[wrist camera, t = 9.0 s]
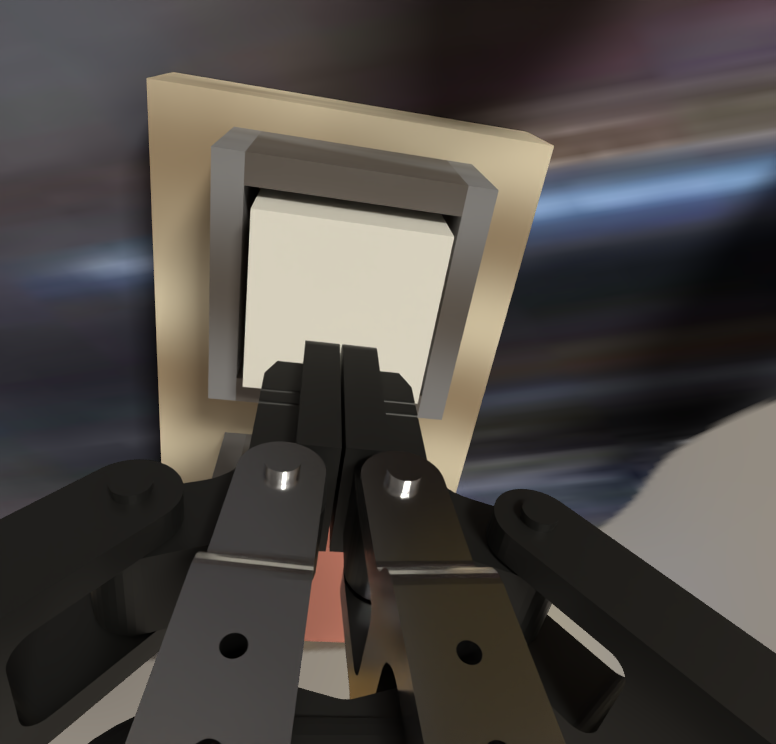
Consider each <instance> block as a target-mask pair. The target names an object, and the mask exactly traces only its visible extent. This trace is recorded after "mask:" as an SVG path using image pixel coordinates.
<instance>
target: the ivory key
mask: <svg viewBox="0 0 776 744" xmlns="http://www.w3.org/2000/svg"><path fill="white" fill-rule="evenodd" d="M453 240H454V236H453V234H452V232H451V230H450V229H449V227H448V225H447V223H446V221H445V220H444V218H443V216H442V214H439V213H432V212H425V211H418V210H411V209H404V208H398V207H391V206H384V205H377V204H370V203H363V202H356V201H349V200H342V199H335V198H328V197H322V196H315V195H308V194H301V193H294V192H287V191H280V190H273V189H266V188H261V189H260V191H259V193H258V195H257V197H256V199H255V201H254V203H253V205H252V207H251V212H250V234H249V256H248V279H247V301H246V324H245V346H244V368H243V387H250V388H261V387H262V382H263V377H264V373H265V372H266V371H267V370H268V369H269V368H270V367H271V366H272V365H273V364H274V363H275V362H277V361H285V362H294V363H303V358H304V348H305V340H308V341H317V342H326V343H336V344H340V353H341V347H342V344H346V345H355V346H364V347H374V348H377V352H378V360H379V367H380V371H384V372H393V373H399V374H400V375H401V376H402V377H403V378H404V379H405V380H406V381H407V383H408V384H409V385H410V386H411V387H412V392H413V396H414V401H415V403H416V404H418V399H419V395H420V390H421V386H422V381H423V377H424V372H425V368H426V363H427V358H428V354H429V349H430V345H431V340H432V336H433V331H434V327H435V322H436V318H437V313H438V309H439V304H440V299H441V295H442V290H443V286H444V281H445V277H446V272H447V268H448V263H449V259H450V254H451V249H452V245H453Z"/></svg>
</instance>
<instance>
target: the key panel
mask: <svg viewBox="0 0 776 744" xmlns="http://www.w3.org/2000/svg"><path fill="white" fill-rule="evenodd" d="M147 99H148V125H149V152H150V178H151V204H152V230H153V257H154V283H155V309H156V336H157V362H158V388H159V414H160V441H161V463H163V464H166V465H168V466H169V467H171V468H173V469H174V470H175V471H176V472H177V473H178V474H179V475H180V476H181V479H182V481H183V483H188V482H195V481H201V480H207V479H212V478H215V477H218V476H221V475H224V474H226V473H228V472H230V471H232V470H233V469H235V468H236V466H237V463H238V461H239V459H240V457H241V456H242V455H243V454H244V453H245V452H246V451H248V450H249V446H250V441H251V436H252V431H253V427H254V422H255V417H256V412H257V407H258V403H259V397H260V392H261V388H250V387H243V368H244V346H245V324H246V301H247V279H248V256H249V234H250V212H251V207H252V205H253V203H254V201H255V199H256V197H257V195H258V193H259V191H260V189H261V188H266V189H273V190H280V191H287V192H294V193H301V194H308V195H315V196H322V197H328V198H335V199H342V200H349V201H356V202H363V203H370V204H377V205H384V206H391V207H398V208H404V209H411V210H418V211H425V212H432V213H439V214H442V216H443V218H444V220H445V221H446V223H447V225H448V227H449V229H450V230H451V232H452V234H453V236H454V240H453V245H452V249H451V254H450V259H449V263H448V268H447V272H446V277H445V281H444V286H443V290H442V295H441V299H440V304H439V309H438V313H437V318H436V322H435V327H434V331H433V336H432V340H431V345H430V349H429V354H428V358H427V363H426V368H425V372H424V377H423V381H422V386H421V390H420V395H419V399H418V404H416V403H415V405H416V410H417V418H418V419H419V424H420V429H421V433H422V438H423V443H424V447H425V452H426V456H427V460H428V461H429V462H431V463H432V464H433V465H435V466H436V467H437V468H438V469H439V471H440V472H441V474H442V476H443V478H444V480H445V483H446V486H447V488H448V489H449V490H451V491H453V492H455V493H456V490H457V486H458V483H459V479H460V476H461V472H462V469H463V465H464V462H465V458H466V455H467V451H468V448H469V444H470V441H471V437H472V434H473V430H474V426H475V423H476V419H477V416H478V412H479V409H480V405H481V402H482V398H483V395H484V391H485V388H486V384H487V381H488V377H489V374H490V370H491V367H492V363H493V359H494V356H495V352H496V349H497V345H498V342H499V338H500V335H501V331H502V328H503V324H504V321H505V317H506V314H507V310H508V307H509V303H510V299H511V296H512V292H513V289H514V285H515V282H516V278H517V275H518V271H519V268H520V264H521V261H522V257H523V254H524V250H525V247H526V243H527V240H528V236H529V232H530V229H531V225H532V222H533V218H534V215H535V211H536V208H537V204H538V201H539V197H540V194H541V190H542V187H543V183H544V180H545V176H546V172H547V169H548V165H549V162H550V158H551V155H552V151H553V148H554V146H553V145H551V144H549V143H547V142H545V141H544V140H542V139H540V138H538V137H536V136H534V135H532V134H530V133H528V132H525V131H519V130H513V129H507V128H501V127H495V126H489V125H483V124H477V123H471V122H465V121H459V120H454V119H448V118H442V117H436V116H430V115H424V114H418V113H412V112H406V111H400V110H394V109H388V108H382V107H377V106H371V105H365V104H359V103H353V102H347V101H341V100H335V99H329V98H323V97H317V96H311V95H305V94H300V93H294V92H288V91H282V90H276V89H270V88H264V87H258V86H252V85H246V84H240V83H234V82H228V81H223V80H217V79H211V78H205V77H199V76H193V75H187V74H181V73H175V72H172V73H167V74H163V75H159V76H154V77H150V78H147Z"/></svg>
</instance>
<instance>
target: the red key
mask: <svg viewBox="0 0 776 744" xmlns="http://www.w3.org/2000/svg"><path fill="white" fill-rule="evenodd" d="M329 544H330V527H329V533H328V540H327V546H326V552H325V551H319V553H318V560H317V566H316V573H315V576H314V579H313V580H312V585H311V593H310V600H309V608H308V615H307V623H306V630H305V638H304V641H320V642H345V639H344V629H343V619H342V609H341V599H340V584H341V579H342V573H343V568H344V559H343V552H329Z"/></svg>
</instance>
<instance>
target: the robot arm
mask: <svg viewBox="0 0 776 744" xmlns="http://www.w3.org/2000/svg"><path fill="white" fill-rule="evenodd" d="M329 527H330V544H329V552H343V559H344V568H343V573H342V579H341V584H340V599H341V609H342V619H343V629H344V639H345V649H346V659H347V668H348V678H349V691H350V699H348V700H346V699H338V698H334V697H330V696H327V695H323V694H319V693H316V692H313V691H309V690H305V689H302V688H298V683H299V676H300V668H301V660H302V653H303V645H304V638H305V630H306V623H307V615H308V608H309V600H310V593H311V585H312V580H313V579H314V576H315V573H316V566H317V560H318V553H319V551H325V552H326V546H327V540H328V533H329ZM551 604H553V605H555V606H556V607H557V608H559V609H560V610H561V611H562V612H563V613H564V614H565V615H567V616H568V617H569V618H570V619H571V620H573V621H574V622H575V623H576V624H577V625H579V626H580V627H581V628H582V629H583V630H585V631H586V632H587V633H588V634H590V635H591V636H592V637H593V638H594V639H595V640H597V641H598V642H599V643H600V644H601V645H603V646H604V647H605V648H606V649H607V650H609V651H610V652H611V653H612V654H613V655H614V656H615V657H616V659H617V660H618V661H619V663H620V665H621V666H622V668H623V671H624V674H625V677H623V676H621V675H618V674H617V673H615V672H614V671H613V670H611V669H610V668H609V667H608V666H607V665H606V664H605V663H603V662H602V661H601V660H600V659H599V658H598V657H596V656H595V655H594V654H593V653H592V652H590V651H589V650H588V649H587V648H586V647H585V646H583V645H582V644H581V643H580V642H579V641H577V640H576V639H575V638H574V637H573V636H572V635H570V634H569V633H568V632H567V631H566V630H565V629H563V628H562V627H561V626H560V625H559V624H558V623H556V622H555V621H554V620H553V619H552V618H551V617H549V616H548V615H547V613H548V611H549V609H550V607H551ZM158 651H159V652H158ZM157 652H158V655H157V658H156V661H155V663H154V666H153V669H152V672H151V674H150V677H149V680H148V683H147V685H146V688H145V691H144V694H143V696H142V699H141V702H140V704H139V707H138V710H137V713H136V716H135V717H133V718H131V719H129V720H126V721H124V722H122V723H120V724H118V725H116V726H114V727H113V728H111V729H110V730H108V731H106V732H105V733H103V734H102V735H100V736H98V737H97V738H95V739H93V740H92V741H91V742H89V743H88V744H776V653H774V652H773V651H771V650H770V649H769V648H767V647H766V646H764V645H763V644H762V643H760V642H759V641H757V640H756V639H754V638H753V637H752V636H750V635H749V634H747V633H746V632H745V631H743V630H742V629H740V628H739V627H737V626H736V625H735V624H733V623H732V622H730V621H729V620H727V619H726V618H725V617H723V616H722V615H720V614H719V613H717V612H716V611H715V610H713V609H712V608H710V607H709V606H708V605H706V604H705V603H703V602H702V601H700V600H699V599H698V598H696V597H695V596H693V595H692V594H691V593H689V592H688V591H686V590H685V589H683V588H682V587H680V586H679V585H678V584H676V583H675V582H673V581H672V580H671V579H669V578H668V577H666V576H665V575H663V574H662V573H661V572H659V571H658V570H656V569H655V568H654V567H652V566H651V565H649V564H648V563H646V562H645V561H644V560H642V559H641V558H639V557H638V556H637V555H635V554H634V553H632V552H631V551H629V550H628V549H627V548H625V547H624V546H622V545H621V544H619V543H618V542H617V541H615V540H614V539H612V538H611V537H610V536H608V535H607V534H605V533H604V532H602V531H601V530H600V529H598V528H597V527H595V526H594V525H592V524H591V523H590V522H588V521H587V520H585V519H584V518H583V517H581V516H580V515H578V514H577V513H575V512H574V511H573V510H571V509H570V508H568V507H567V506H565V505H564V504H563V503H561V502H560V501H558V500H556V499H555V498H553V497H551V496H549V495H547V494H544V493H541V492H538V491H534V490H528V489H515V490H510V491H507V492H505V493H503V494H502V495H500V496H499V497H498V498H497V500H496V502H495V505H494V506H492V505H488V504H485V503H482V502H479V501H475V500H472V499H469V498H466V497H463V496H461V495H459V494H457V493H455V492H453V491H451V490H449V489H448V488H447V486H446V483H445V480H444V478H443V476H442V474H441V472H440V471H439V469H438V468H437V467H436V466H435V465H433V464H432V463H431V462H429V461H428V460H427V456H426V452H425V447H424V443H423V438H422V433H421V429H420V424H419V419H418V418H417V410H416V405H415V401H414V396H413V392H412V387H411V386H410V385H409V384H408V383H407V381H406V380H405V379H404V378H403V377H402V376H401V375H400V374H399V373H393V372H384V371H380V367H379V360H378V352H377V348H374V347H364V346H355V345H346V344H342V347H341V353H340V344H336V343H326V342H317V341H308V340H305V348H304V358H303V363H294V362H285V361H277V362H275V363H274V364H273V365H272V366H271V367H270V368H269V369H268V370H267V371H266V372H265V373H264V377H263V382H262V387H261V392H260V397H259V403H258V407H257V412H256V417H255V422H254V427H253V431H252V436H251V441H250V446H249V450H248V451H246V452H245V453H244V454H243V455H242V456H241V457H240V459H239V461H238V463H237V466H236V468H235V469H233V470H232V471H230V472H228V473H226V474H224V475H221V476H218V477H215V478H212V479H207V480H201V481H195V482H188V483H183V481H182V479H181V476H180V475H179V474H178V473H177V472H176V471H175V470H174V469H173V468H171V467H169V466H168V465H166V464H163V463H160V462H156V461H152V460H126V461H121V462H117V463H114V464H110V465H108V466H105V467H103V468H101V469H99V470H97V471H95V472H93V473H91V474H89V475H87V476H85V477H83V478H81V479H79V480H77V481H75V482H73V483H71V484H69V485H67V486H65V487H63V488H61V489H59V490H57V491H55V492H53V493H51V494H49V495H47V496H45V497H43V498H41V499H39V500H37V501H35V502H33V503H31V504H30V505H28V506H26V507H24V508H22V509H20V510H18V511H16V512H14V513H12V514H10V515H8V516H6V517H4V518H2V519H0V744H48V743H49V742H51V741H52V740H53V739H54V738H55V737H56V736H58V735H59V734H60V733H61V732H63V731H64V730H65V729H66V728H67V727H69V726H70V725H71V724H72V723H73V722H74V721H76V720H77V719H78V718H79V717H81V716H82V715H83V714H84V713H85V712H86V711H88V710H89V709H90V708H91V707H92V706H94V705H95V704H96V703H97V702H98V701H100V700H101V699H102V698H103V697H104V696H106V695H107V694H108V693H109V692H110V691H112V690H113V689H114V688H115V687H116V686H118V685H119V684H120V683H121V682H122V681H124V680H125V679H126V678H127V677H128V676H130V675H131V674H132V673H133V672H134V671H136V670H137V669H138V668H139V667H140V666H142V665H143V664H144V663H145V662H146V661H148V660H149V659H150V658H151V657H152V656H154V655H155V654H156V653H157Z"/></svg>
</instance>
